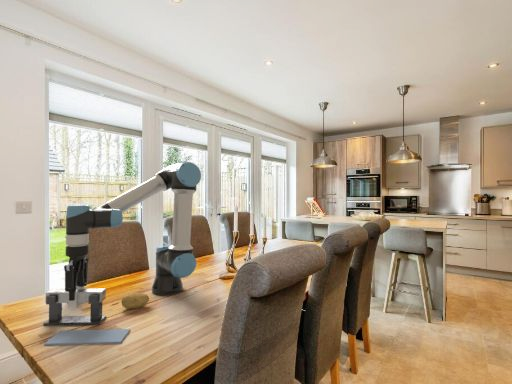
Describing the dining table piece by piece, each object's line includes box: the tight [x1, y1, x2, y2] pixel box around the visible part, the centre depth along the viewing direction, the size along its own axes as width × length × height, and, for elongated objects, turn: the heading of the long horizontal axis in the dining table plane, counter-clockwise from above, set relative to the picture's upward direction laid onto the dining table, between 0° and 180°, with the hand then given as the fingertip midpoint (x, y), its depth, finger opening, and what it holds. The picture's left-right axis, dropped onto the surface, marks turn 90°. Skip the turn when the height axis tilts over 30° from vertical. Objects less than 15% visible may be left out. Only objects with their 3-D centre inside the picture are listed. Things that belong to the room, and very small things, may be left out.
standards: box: [42, 295, 107, 327], centre depth 112 cm, size 20×7×11 cm, turn 95°
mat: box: [43, 328, 131, 346], centre depth 100 cm, size 24×9×1 cm, turn 95°
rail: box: [45, 287, 107, 304], centre depth 112 cm, size 20×4×4 cm, turn 95°
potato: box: [120, 292, 150, 310], centre depth 127 cm, size 7×11×6 cm, turn 107°
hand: (76, 305), depth 112 cm, fingers closed on rail, 4 cm apart
